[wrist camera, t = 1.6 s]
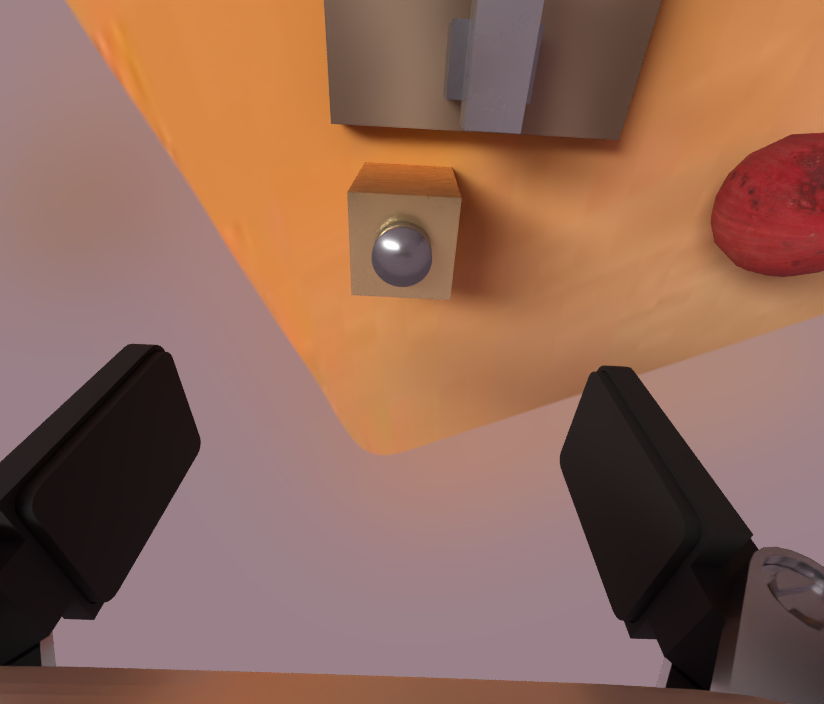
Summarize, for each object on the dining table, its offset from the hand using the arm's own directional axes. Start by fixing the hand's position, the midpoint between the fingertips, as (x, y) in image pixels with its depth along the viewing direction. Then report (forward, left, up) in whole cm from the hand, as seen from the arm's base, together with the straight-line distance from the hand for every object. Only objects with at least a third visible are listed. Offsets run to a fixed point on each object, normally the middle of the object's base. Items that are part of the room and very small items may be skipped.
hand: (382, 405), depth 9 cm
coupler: (0, 0, -15) cm, 15 cm away
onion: (-17, -2, -15) cm, 23 cm away
